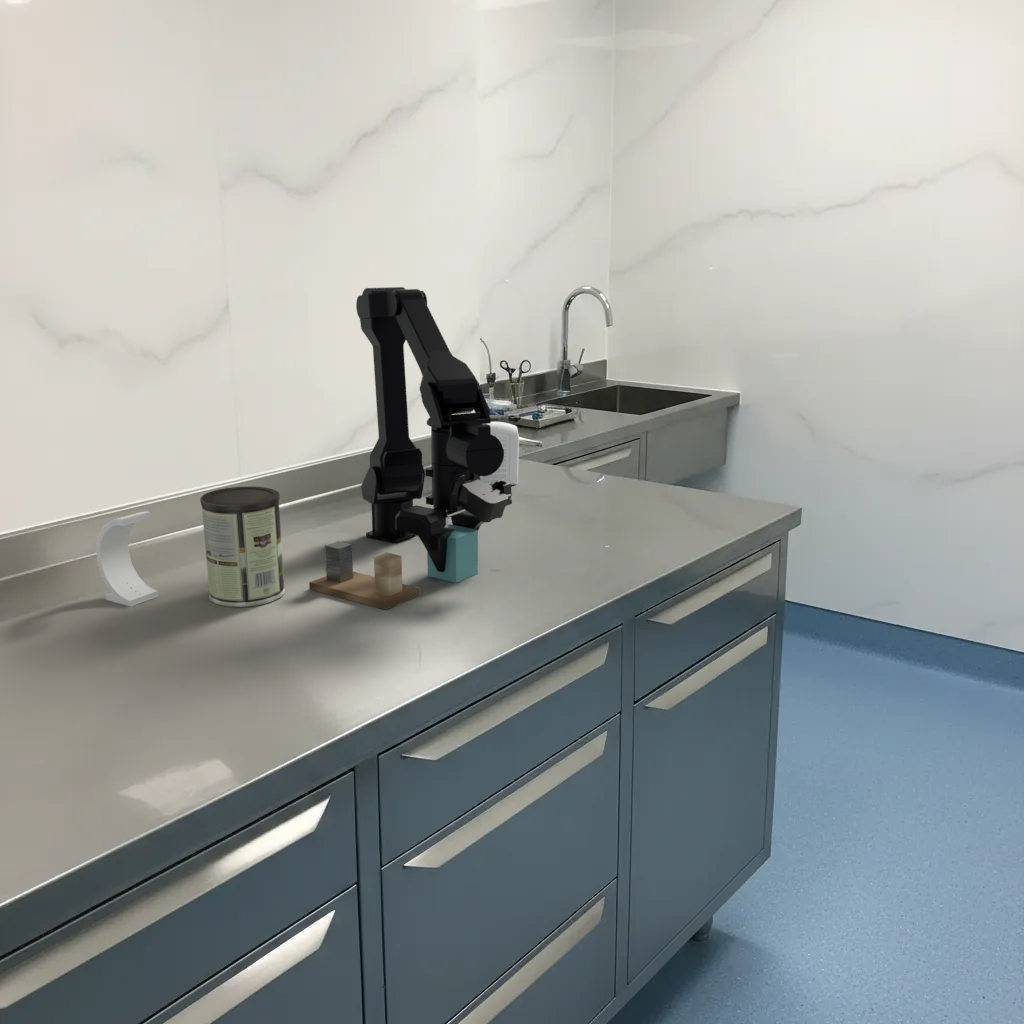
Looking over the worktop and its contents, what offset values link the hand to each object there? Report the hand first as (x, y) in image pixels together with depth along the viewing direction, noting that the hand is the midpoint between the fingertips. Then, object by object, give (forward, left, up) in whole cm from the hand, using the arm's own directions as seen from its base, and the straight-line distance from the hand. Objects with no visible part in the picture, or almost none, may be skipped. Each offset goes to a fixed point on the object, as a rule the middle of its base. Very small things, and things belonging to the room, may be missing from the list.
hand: (452, 566), depth 152 cm
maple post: (-1, -13, -1) cm, 13 cm away
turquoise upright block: (0, 0, -1) cm, 1 cm away
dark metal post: (-10, -13, -1) cm, 16 cm away
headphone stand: (-30, -33, -1) cm, 45 cm away
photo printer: (-27, +48, -2) cm, 55 cm away
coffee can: (-18, -23, -2) cm, 29 cm away
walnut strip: (-5, -13, -1) cm, 14 cm away
